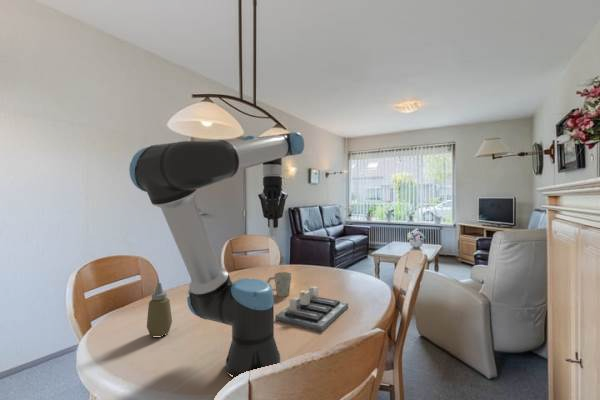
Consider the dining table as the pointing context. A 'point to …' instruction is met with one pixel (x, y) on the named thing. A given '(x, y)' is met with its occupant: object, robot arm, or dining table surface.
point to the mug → (281, 283)
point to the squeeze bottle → (159, 313)
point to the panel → (312, 311)
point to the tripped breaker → (304, 297)
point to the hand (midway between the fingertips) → (273, 235)
